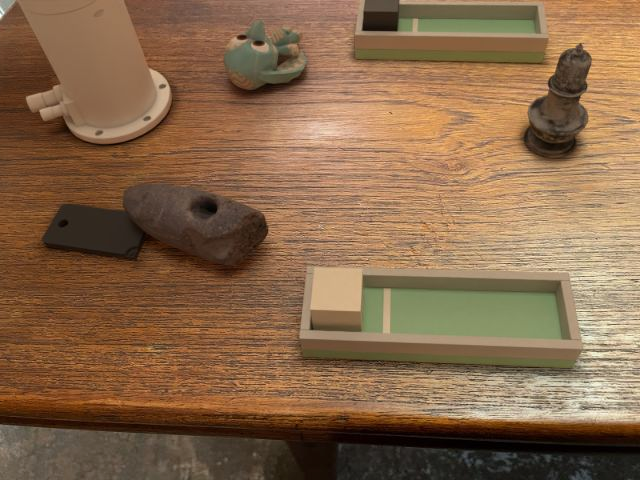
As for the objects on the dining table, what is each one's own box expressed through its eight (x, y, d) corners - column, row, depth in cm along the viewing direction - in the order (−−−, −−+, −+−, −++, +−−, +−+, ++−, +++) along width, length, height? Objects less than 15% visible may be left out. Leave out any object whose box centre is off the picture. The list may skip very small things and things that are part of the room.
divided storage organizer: (302, 357, 52) (298, 338, 49) (310, 286, 56) (306, 265, 53) (571, 368, 50) (583, 349, 47) (558, 293, 54) (569, 272, 51)
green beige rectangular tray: (355, 59, 74) (354, 34, 72) (360, 24, 78) (359, -1, 76) (542, 63, 72) (549, 37, 69) (537, 26, 76) (543, 1, 73)
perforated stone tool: (118, 236, 60) (93, 191, 55) (148, 198, 63) (127, 152, 57) (251, 288, 56) (239, 245, 51) (277, 244, 59) (268, 199, 53)
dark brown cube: (363, 40, 74) (363, 11, 71) (366, 20, 76) (366, -9, 73) (396, 41, 73) (397, 11, 70) (398, 21, 76) (399, -9, 72)
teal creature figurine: (332, 10, 71) (270, 52, 64) (330, 66, 76) (272, 110, 69) (258, -13, 75) (192, 24, 68) (261, 42, 80) (200, 81, 73)
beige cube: (314, 333, 51) (309, 309, 48) (317, 292, 54) (314, 267, 50) (361, 334, 51) (360, 311, 48) (363, 293, 53) (362, 268, 50)
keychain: (132, 255, 58) (39, 241, 60) (135, 259, 59) (43, 245, 61) (152, 214, 61) (62, 202, 63) (154, 219, 62) (65, 207, 64)
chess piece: (580, 162, 62) (618, 67, 53) (520, 157, 63) (546, 62, 54) (577, 122, 66) (613, 25, 56) (521, 118, 67) (546, 21, 57)
